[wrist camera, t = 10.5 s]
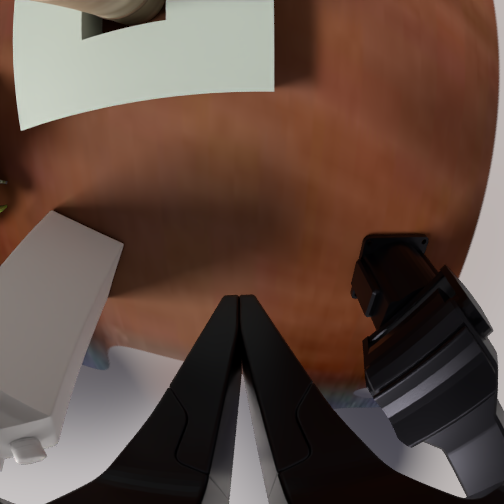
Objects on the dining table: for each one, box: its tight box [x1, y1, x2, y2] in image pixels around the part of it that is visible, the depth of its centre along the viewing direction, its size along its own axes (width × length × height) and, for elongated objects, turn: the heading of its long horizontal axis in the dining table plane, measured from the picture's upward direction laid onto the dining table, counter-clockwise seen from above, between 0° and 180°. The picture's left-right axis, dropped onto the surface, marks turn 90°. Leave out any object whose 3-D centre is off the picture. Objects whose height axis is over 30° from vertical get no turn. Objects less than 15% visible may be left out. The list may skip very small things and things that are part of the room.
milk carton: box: [0, 210, 124, 471], centre depth 15 cm, size 7×7×19 cm
